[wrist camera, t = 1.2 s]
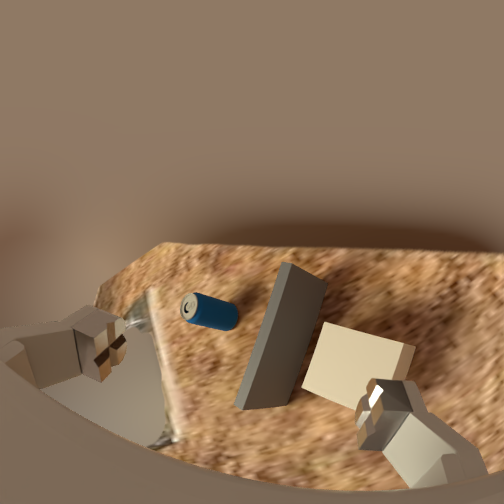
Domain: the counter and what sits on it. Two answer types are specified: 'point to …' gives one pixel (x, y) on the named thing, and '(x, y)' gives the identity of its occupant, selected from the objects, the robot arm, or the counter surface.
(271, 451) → the counter surface
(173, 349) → the counter surface
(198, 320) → the beverage can
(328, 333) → the block
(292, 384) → the grey stand
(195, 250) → the counter surface
